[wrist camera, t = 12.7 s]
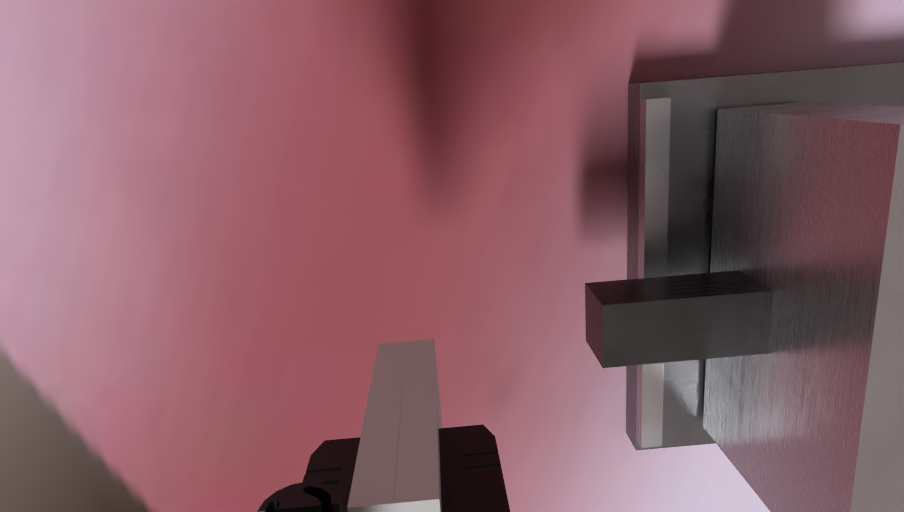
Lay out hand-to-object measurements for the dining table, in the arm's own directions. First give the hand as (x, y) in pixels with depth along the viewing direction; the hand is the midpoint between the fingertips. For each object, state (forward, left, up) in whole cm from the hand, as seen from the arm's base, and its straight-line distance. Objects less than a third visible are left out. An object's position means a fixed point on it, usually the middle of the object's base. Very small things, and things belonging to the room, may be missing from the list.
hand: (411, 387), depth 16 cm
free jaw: (0, +10, -5) cm, 11 cm away
